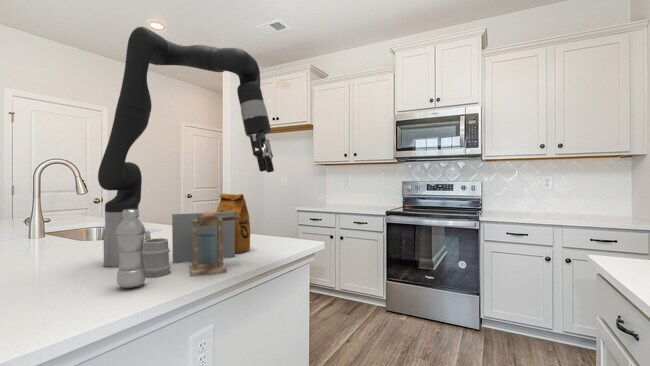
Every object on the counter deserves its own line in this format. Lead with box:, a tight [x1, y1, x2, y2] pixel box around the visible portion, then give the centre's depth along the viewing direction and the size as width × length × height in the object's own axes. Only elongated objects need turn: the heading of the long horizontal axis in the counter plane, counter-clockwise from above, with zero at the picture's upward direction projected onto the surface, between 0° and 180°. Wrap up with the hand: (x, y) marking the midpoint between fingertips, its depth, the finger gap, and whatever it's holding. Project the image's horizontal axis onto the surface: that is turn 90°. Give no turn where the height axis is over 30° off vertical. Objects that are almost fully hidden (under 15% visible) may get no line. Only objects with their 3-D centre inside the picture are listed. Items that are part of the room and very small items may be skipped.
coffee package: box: [216, 193, 251, 254], centre depth 123 cm, size 10×12×22 cm
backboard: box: [171, 211, 236, 264], centre depth 110 cm, size 20×1×16 cm, turn 114°
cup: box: [190, 233, 217, 266], centre depth 106 cm, size 9×9×9 cm
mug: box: [143, 230, 172, 278], centre depth 95 cm, size 8×12×12 cm, turn 51°
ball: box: [203, 210, 214, 217], centre depth 93 cm, size 3×3×3 cm
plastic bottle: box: [116, 208, 147, 289], centre depth 83 cm, size 6×7×20 cm
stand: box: [189, 218, 227, 277], centre depth 97 cm, size 10×7×16 cm
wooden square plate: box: [198, 212, 241, 226], centre depth 99 cm, size 13×13×3 cm
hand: (267, 171), depth 95 cm, fingers open, 8 cm apart
